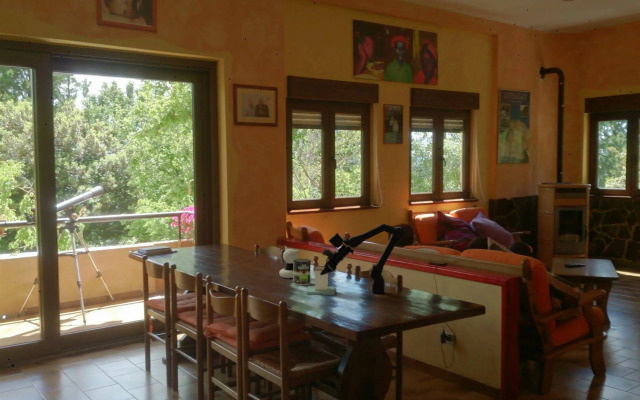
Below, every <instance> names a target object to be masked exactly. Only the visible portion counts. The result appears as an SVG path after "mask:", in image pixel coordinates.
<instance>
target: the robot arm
mask: <svg viewBox="0 0 640 400" xmlns="http://www.w3.org/2000/svg"><path fill="white" fill-rule="evenodd" d="M382 232H383V233H384V232H385V233H388V234H390V237H389V240H388V243H387V244H386V246H385V248H384V250H383V252H382V253H381V255H380V257H379V259H378V260H377V261H376V263H372V265H371V268H369V275H370V278H371V279H372V283H371V292H372V294H375V295H379V294H380V295H385V285H386V284H385V283H386V282H385V277H384V275H382V273H383V270H384V266H385V265H386V263H387V260H388V259H389V257H390V256H391V253H392V252H393V250H394V248H395V246H396V245H397V244H398V242H400V240H401V239H402V238H403V237H404V236H405V232H404V229H403V228H402V227H400V226H392V225H390V224H386V223H381V224H379V225H377V226H375V227H374V228H372V229H371V228H370V229H369V230H367V231H365V232H363V233H359V234H355V235H352V236H350V237H349V238H343V237H341V235H340V234H339V233H338V232H336V233H335V234H334V235H332V236H331V237H330V238H329V239H328V242H329V244H330V245H332V247H333V248H335V249H337V250H334V251H332V250H331V249H328V248H324V249H323V251H322V253H321V254H322V255H323V256H326V259H325V264H324V265H323V267H325V268H324V269H323V271H322V272H321V273H320V275H321V276H322V275H324V274H327V273H328V274H329V273H331V272H335V271H336V270H337V266H339V264H340V263H341V262H343V261H344V259H345V258H346V257H347V256H348V255H349V254H352V255H354V252H355V251H354V250H355V248H357V247H359V246H360V245H361V244H363V243H364V242H365V241H367V240H369V239H371V238H373V237H374V236H375V237H376V235H379V234H381V233H382Z"/></svg>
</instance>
